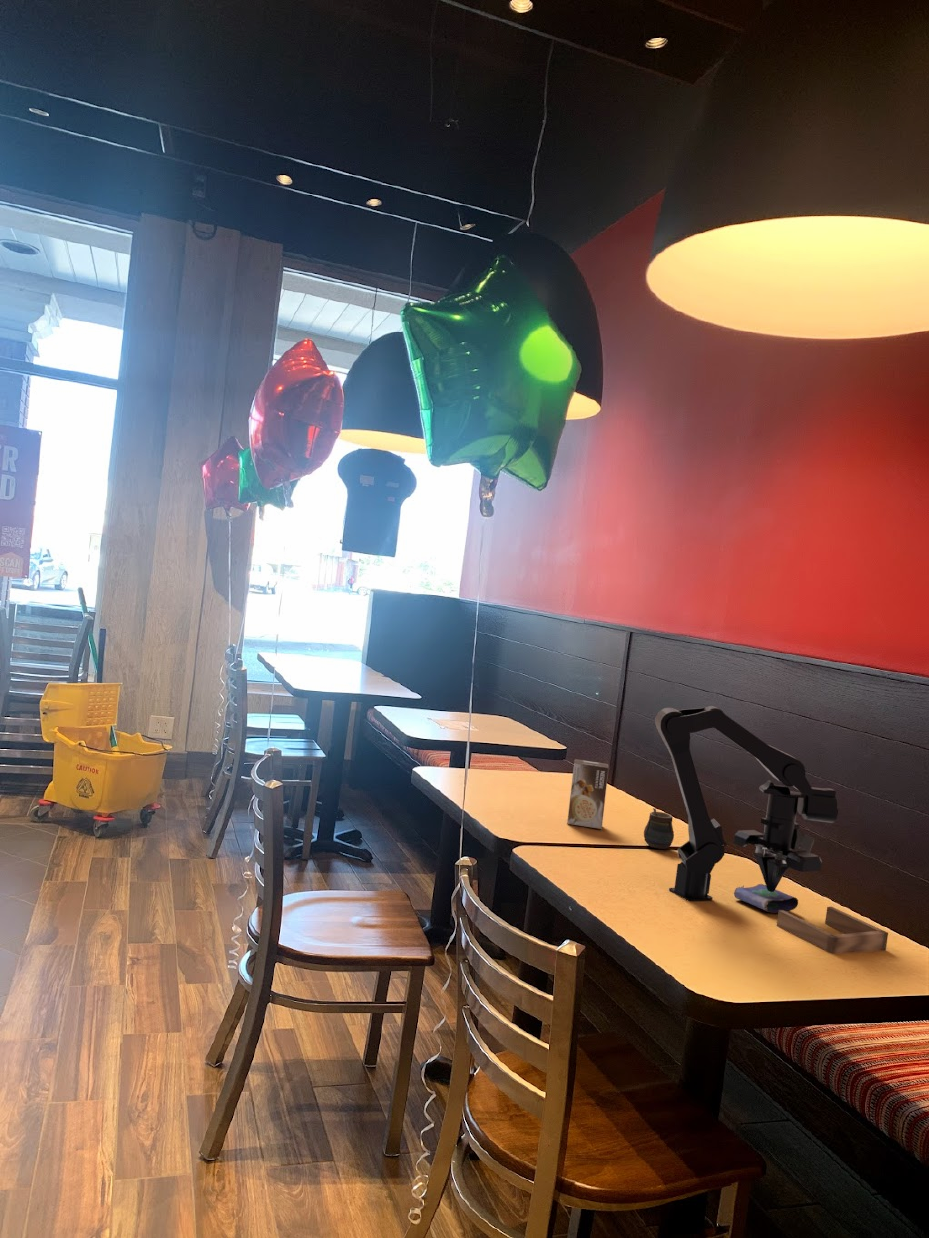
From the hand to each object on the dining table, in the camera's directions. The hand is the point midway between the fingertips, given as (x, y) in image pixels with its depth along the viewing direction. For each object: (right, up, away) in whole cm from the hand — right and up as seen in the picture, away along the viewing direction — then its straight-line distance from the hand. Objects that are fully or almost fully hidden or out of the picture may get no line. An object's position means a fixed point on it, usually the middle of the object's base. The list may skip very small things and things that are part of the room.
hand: (770, 891), depth 188 cm
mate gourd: (-15, 0, +38) cm, 41 cm away
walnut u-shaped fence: (+6, -5, -13) cm, 16 cm away
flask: (+1, -5, -3) cm, 6 cm away
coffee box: (-32, +2, +51) cm, 60 cm away
